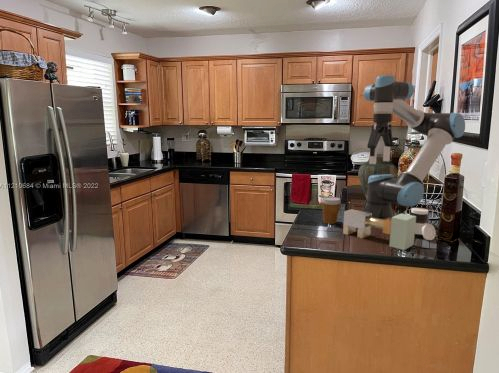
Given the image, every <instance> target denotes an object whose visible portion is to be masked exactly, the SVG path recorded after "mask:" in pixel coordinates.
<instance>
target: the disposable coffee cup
mask: <svg viewBox="0 0 499 373" xmlns="http://www.w3.org/2000/svg"><path fill="white" fill-rule="evenodd" d="M320 201H321V207H322V208H321V209H322V210H321V211H322V217H323V218H322V219H323V221H322V222H323V223H324V224H327V223H328V224H330V225H333V224H334V223H335V224H337V220H338V215H339V210H340V205H341V203H342V201H341V198H340V197H336V196H323V197H321V199H320Z"/></svg>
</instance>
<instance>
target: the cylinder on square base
mask: <svg viewBox="0 0 499 373" xmlns="http://www.w3.org/2000/svg"><path fill="white" fill-rule="evenodd" d="M391 220H392V218H387V219H384V220H382V219H378V218H373V217H368V216H366V219H365V225H366V226H370V227H371V228H375V229H380V230H382V233H383V234H387V235H390V232H391Z"/></svg>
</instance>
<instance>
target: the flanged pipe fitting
mask: <svg viewBox="0 0 499 373" xmlns="http://www.w3.org/2000/svg"><path fill="white" fill-rule="evenodd" d="M409 215H413V216H416V223H415V234H414V238H421V239H422V238H423V239H425V240H426V241H432V240H434V239H435V238H436V232H437V231H436V228H435V226H434V225H433V224H431V223H430V216H429V209H426V208H424V207H423V208H422V207H411V208H410V214H409Z"/></svg>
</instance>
